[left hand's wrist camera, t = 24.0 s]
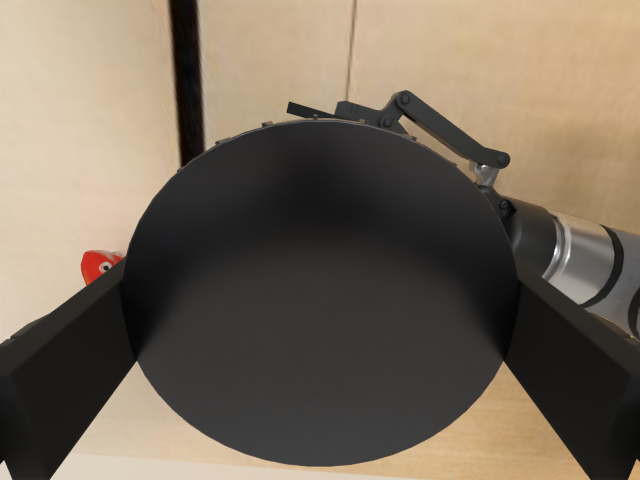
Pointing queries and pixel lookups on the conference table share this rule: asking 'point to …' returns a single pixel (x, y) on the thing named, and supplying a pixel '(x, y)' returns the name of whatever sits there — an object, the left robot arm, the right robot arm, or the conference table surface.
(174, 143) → the conference table surface
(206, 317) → the lid
